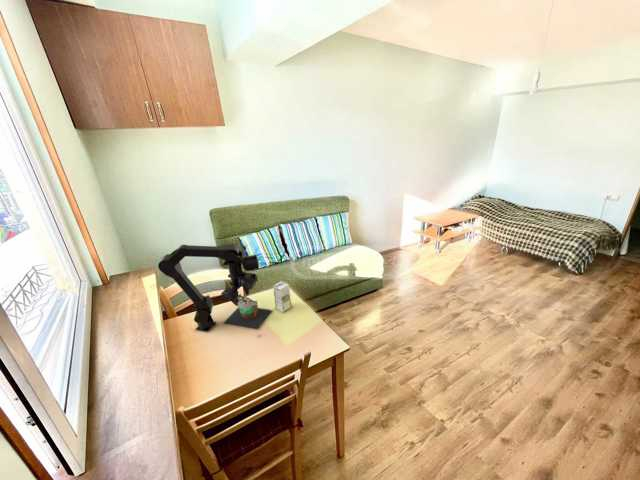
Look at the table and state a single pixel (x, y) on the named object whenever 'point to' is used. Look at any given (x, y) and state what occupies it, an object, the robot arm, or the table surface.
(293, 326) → the table surface
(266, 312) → the desk pad
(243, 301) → the food container
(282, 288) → the syrup box
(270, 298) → the table surface
